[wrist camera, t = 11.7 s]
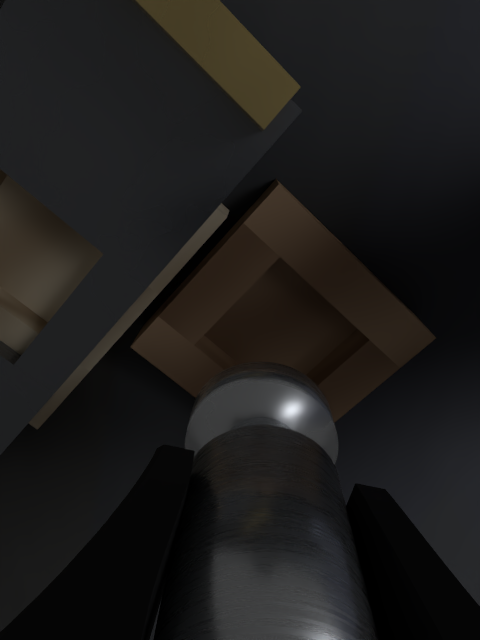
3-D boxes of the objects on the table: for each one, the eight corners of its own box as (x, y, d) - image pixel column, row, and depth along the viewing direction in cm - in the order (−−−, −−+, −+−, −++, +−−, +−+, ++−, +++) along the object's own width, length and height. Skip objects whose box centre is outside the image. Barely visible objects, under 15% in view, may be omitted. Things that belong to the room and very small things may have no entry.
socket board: (229, 210, 17) (227, 217, 15) (53, 408, 21) (37, 429, 19) (25, 22, 15) (0, 9, 13) (-132, 278, 18) (-165, 291, 17)
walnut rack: (417, 317, 18) (436, 338, 17) (280, 436, 21) (282, 465, 19) (276, 178, 16) (278, 184, 15) (142, 326, 19) (130, 347, 17)
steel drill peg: (359, 402, 11) (498, 755, 5) (283, 499, 12) (315, 881, 6) (233, 336, 11) (201, 636, 4) (166, 444, 12) (64, 802, 5)
